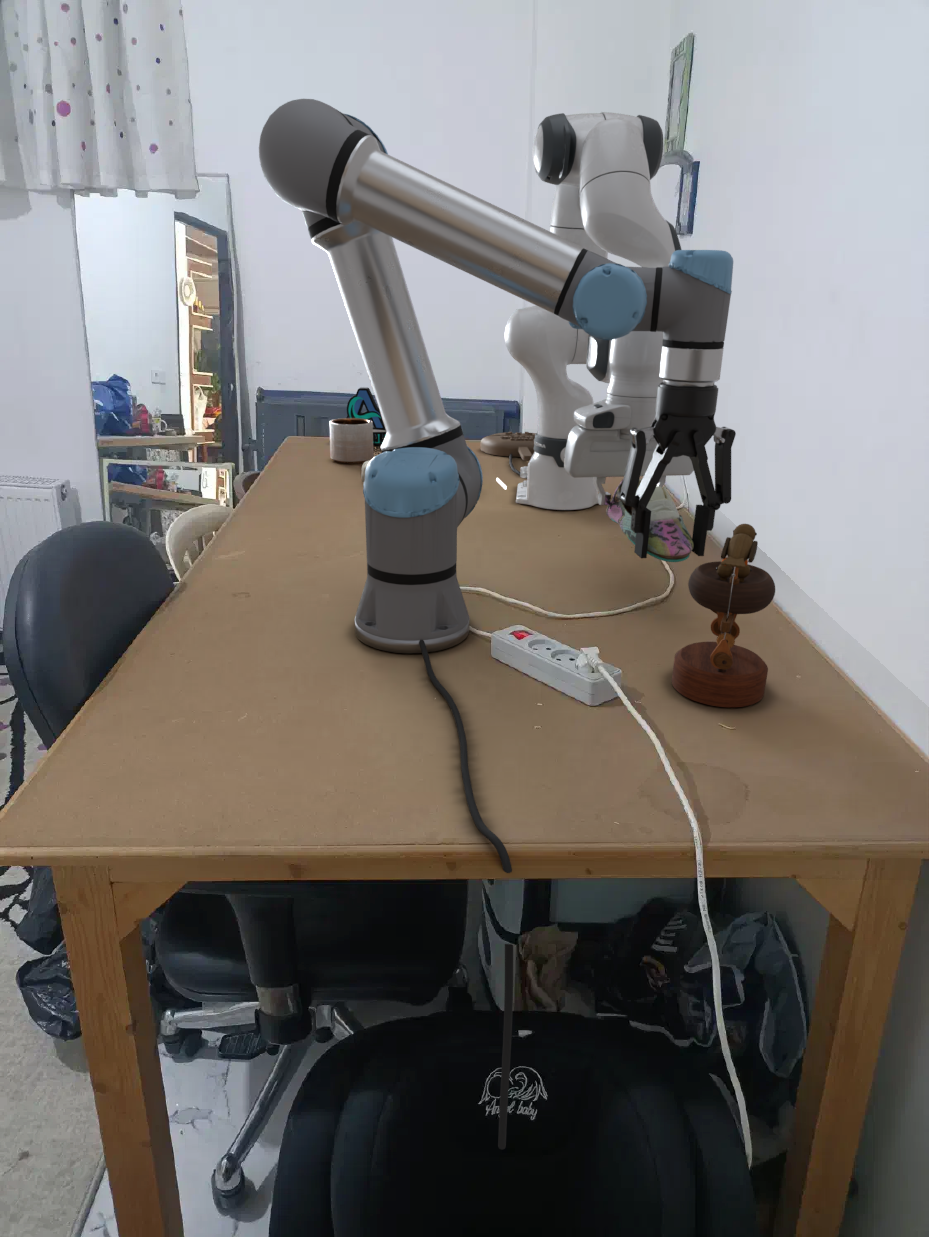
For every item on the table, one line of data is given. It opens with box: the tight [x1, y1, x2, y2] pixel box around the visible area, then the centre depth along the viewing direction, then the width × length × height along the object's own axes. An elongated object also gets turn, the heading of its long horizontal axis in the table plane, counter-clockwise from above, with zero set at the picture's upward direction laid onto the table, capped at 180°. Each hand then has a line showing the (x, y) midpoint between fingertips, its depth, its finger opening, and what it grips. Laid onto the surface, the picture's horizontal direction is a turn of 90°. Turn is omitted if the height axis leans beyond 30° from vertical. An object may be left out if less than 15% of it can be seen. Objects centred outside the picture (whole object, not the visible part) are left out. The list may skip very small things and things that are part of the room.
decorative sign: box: [329, 386, 387, 446], centre depth 231 cm, size 19×2×15 cm, turn 86°
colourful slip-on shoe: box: [605, 478, 694, 563], centre depth 123 cm, size 8×24×9 cm, turn 7°
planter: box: [328, 417, 375, 464], centre depth 212 cm, size 11×11×10 cm
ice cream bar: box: [479, 431, 537, 462], centre depth 222 cm, size 21×28×4 cm
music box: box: [671, 523, 776, 708], centre depth 96 cm, size 15×11×20 cm
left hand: (668, 553), depth 116 cm, fingers closed on colourful slip-on shoe, 7 cm apart
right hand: (626, 504), depth 132 cm, fingers closed on colourful slip-on shoe, 6 cm apart
